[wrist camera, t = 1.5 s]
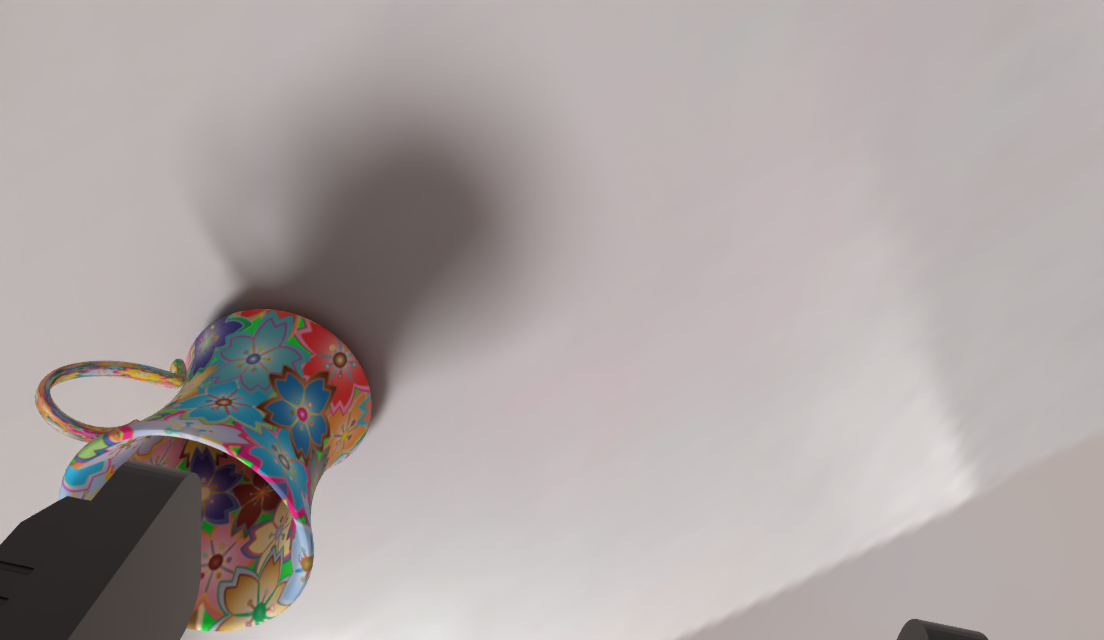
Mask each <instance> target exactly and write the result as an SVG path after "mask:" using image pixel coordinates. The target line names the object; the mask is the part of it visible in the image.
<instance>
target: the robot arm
mask: <svg viewBox="0 0 1104 640" xmlns="http://www.w3.org/2000/svg"><path fill="white" fill-rule="evenodd" d="M200 580H201V481H200V478H199V476H198V475H197V474H196V473H192V472H187V471H182V470H177V469H173V468H168V467H163V466H158V465H153V464H148V463H143V462H139V461H134V460H129V461H127V462H125V463H123V464H122V465H121V466H120V467H119V468H118V469H117V470H116V471H115V473H114V474H113V475H112V476H111V477H110V479H109V480H108V481H107V482H106V483H105V485H104V486H103V487H102V488H101V489H100V491H99V492H98V493H97V494H96V495H95V496H94V498H93V499H92V500H91V501H90V500H85V499H80V498H75V497H70V496H66V497H64V498H63V499H61V500H59V501H57V502H56V503H54V504H52V505H50V506H49V507H47V508H45V509H43V510H42V511H40V512H38V513H36V514H35V515H33V516H31V517H30V518H28V519H26V520H24V521H23V522H21V523H20V524H19V525H18V526H17V527H16V528H15V529H14V530H13V532H12V533H11V534H10V535H9V536H8V537H7V538H6V539H5V540H4V541H3V543H2V544H1V545H0V640H180V638H181V637H182V635H183V633H184V631H185V629H186V627H187V625H188V623H189V621H190V618H191V616H192V613H193V610H194V607H195V604H196V600H197V596H198V592H199V587H200ZM897 640H988V639H987V637H986V636H985V635H984V634H982V633H980V632H977V631H972V630H967V629H962V628H957V627H953V626H948V625H942V624H938V623H933V622H928V621H923V620H918V619H911V620H909V621H908V622H907V623H906V624H905V625H904V627H903V628H902V630H901V632H900V634H899V636H898V638H897Z"/></svg>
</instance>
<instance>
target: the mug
mask: <svg viewBox="0 0 1104 640" xmlns="http://www.w3.org/2000/svg"><path fill="white" fill-rule="evenodd" d="M170 370H171V372H169V371H165V370H162V369H158V368H154V367H150V366H146V365H141V364H136V363H129V362H120V361H89V362H81V363H75V364H70V365H66V366H63V367H60V368H58V369H56V370H54V371H52V372H51V373H49V374H48V375H46V377H45V378H44V379H43V380H42V381H41V382H40V384H39V386H38V388H37V390H36V394H35V403H36V406H37V409H38V411H39V413H40V414H41V416H42V417H43V418H44V420H45V421H46V422H47V423H48V424H49V425H51V426H52V427H53V428H54V429H56V430H57V431H59V432H60V433H62V434H64V435H66V436H68V437H71V438H73V439H76V440H79V441H84V442H89V443H88V444H87V445H85V446H84V447H83V448H82V449H81V450H80V451H79V452H78V453H77V455H76V456H75V457H74V458H73V460H72V461H71V462H70V464H69V466H68V468H67V469H66V472H65V474H64V477H63V479H62V483H61V487H60V493H59V500H61V499H63V498H64V497H66V496H70V497H75V498H80V499H85V500H90V501H91V500H92V499H93V498H94V496H95V495H96V494H97V493H98V492H99V491H100V489H101V488H102V487H103V486H104V485H105V483H106V482H107V481H108V480H109V479H110V477H111V476H112V475H113V474H114V473H115V471H116V470H117V469H118V468H119V467H120V466H121V465H122V464H123V463H125V462H127V461H129V460H134V461H139V462H143V463H148V464H153V465H158V466H163V467H168V468H173V469H177V470H182V471H187V472H192V473H196V474H197V475H198V476H199V478H200V481H201V580H200V587H199V592H198V596H197V600H196V604H195V607H194V610H193V613H192V616H191V618H190V621H189V623H188V625H187V627H186V628H189V629H194V630H203V631H232V630H239V629H244V628H249V627H253V626H256V625H259V624H262V623H264V622H266V621H268V620H270V619H272V618H274V617H276V616H277V615H279V614H280V613H282V612H283V611H284V610H286V609H287V608H288V607H289V606H290V605H291V604H292V603H293V602H294V601H295V600H296V599H297V598H298V596H299V595H300V594H301V592H302V591H303V589H304V587H305V585H306V583H307V581H308V579H309V576H310V573H311V569H312V565H313V558H314V543H313V535H312V529H311V518H310V516H311V505H312V499H313V495H314V492H315V489H316V486H317V484H318V482H319V480H320V478H321V476H322V475H323V473H324V472H325V471H326V470H327V469H328V468H331V467H333V466H335V465H336V464H338V463H340V462H341V461H343V460H344V459H346V458H347V457H348V456H349V455H350V454H352V453H353V451H354V450H355V449H356V448H357V447H358V446H359V444H360V443H361V442H362V440H363V438H364V437H365V435H366V432H367V430H368V427H369V423H370V419H371V409H372V401H371V393H370V387H369V384H368V381H367V378H366V376H365V373H364V371H363V369H362V367H361V365H360V364H359V362H358V361H357V359H356V357H355V356H354V355H353V354H352V352H351V351H350V350H349V349H348V348H347V346H346V345H345V344H344V343H343V342H342V341H341V340H339V339H338V338H337V337H336V336H335V335H334V334H332V333H331V332H330V331H328V330H327V329H325V328H324V327H322V326H321V325H319V324H317V323H315V322H313V321H311V320H309V319H307V318H304V317H302V316H299V315H296V314H293V313H289V312H285V311H280V310H274V309H250V310H244V311H239V312H235V313H232V314H229V315H227V316H225V317H223V318H221V319H219V320H217V321H215V322H214V323H212V324H211V325H209V326H208V327H207V328H206V329H205V330H204V331H203V332H202V333H201V334H200V335H199V336H198V337H197V339H196V340H195V341H194V343H193V345H192V346H191V349H190V351H189V353H188V356H187V360H186V363H185V364H184V362H183V360H181V359H176V360H175V361H174V362H173V363H172V365H171V367H170ZM91 376H112V377H123V378H130V379H135V380H140V381H144V382H149V383H153V384H156V385H160V386H164V387H169V388H179V387H181V386H182V385H183V386H182V388H181V390H180V391H179V393H178V394H177V395H176V397H175V398H174V399H173V400H172V401H171V402H170V403H169V404H167V405H166V406H165V407H164V408H163V409H161V410H160V411H158V412H157V413H155V414H153V415H152V416H150V417H148V418H146V419H144V420H141V421H139V420H137V419H136V420H133V421H132V422H130V423H129V424H126V425H123V426H119V427H111V428H105V427H96V426H91V425H87V424H84V423H81V422H79V421H76V420H74V419H73V418H71V417H69V416H68V415H66V414H65V413H64V412H62V411H61V410H60V409H59V408H58V407H57V406H56V404H55V403H54V402H53V400H52V398H51V395H50V388H51V387H53V386H54V385H56V384H58V383H61V382H63V381H66V380H70V379H75V378H81V377H91Z"/></svg>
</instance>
